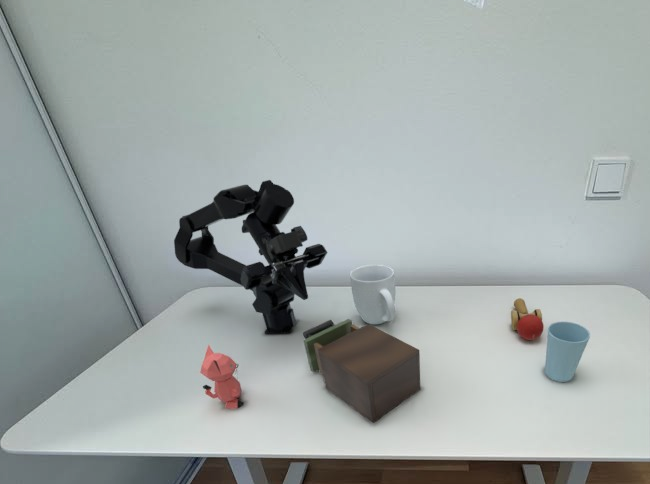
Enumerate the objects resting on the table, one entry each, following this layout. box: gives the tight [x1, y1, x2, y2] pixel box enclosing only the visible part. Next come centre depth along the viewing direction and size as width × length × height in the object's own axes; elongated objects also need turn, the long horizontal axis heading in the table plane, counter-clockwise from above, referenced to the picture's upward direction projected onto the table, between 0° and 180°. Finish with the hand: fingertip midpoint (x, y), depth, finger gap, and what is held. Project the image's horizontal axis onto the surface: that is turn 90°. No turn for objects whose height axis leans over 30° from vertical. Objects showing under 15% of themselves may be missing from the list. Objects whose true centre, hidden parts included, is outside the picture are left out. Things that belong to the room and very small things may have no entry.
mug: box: [349, 263, 396, 325], centre depth 93 cm, size 15×11×13 cm
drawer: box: [302, 318, 360, 376], centre depth 77 cm, size 18×11×8 cm, turn 46°
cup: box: [544, 321, 591, 383], centre depth 74 cm, size 8×8×10 cm
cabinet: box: [318, 323, 421, 424], centre depth 72 cm, size 15×13×10 cm
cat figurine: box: [199, 344, 244, 410], centre depth 69 cm, size 7×7×12 cm
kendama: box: [510, 297, 545, 341], centre depth 92 cm, size 8×6×18 cm
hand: (306, 298), depth 80 cm, fingers closed
